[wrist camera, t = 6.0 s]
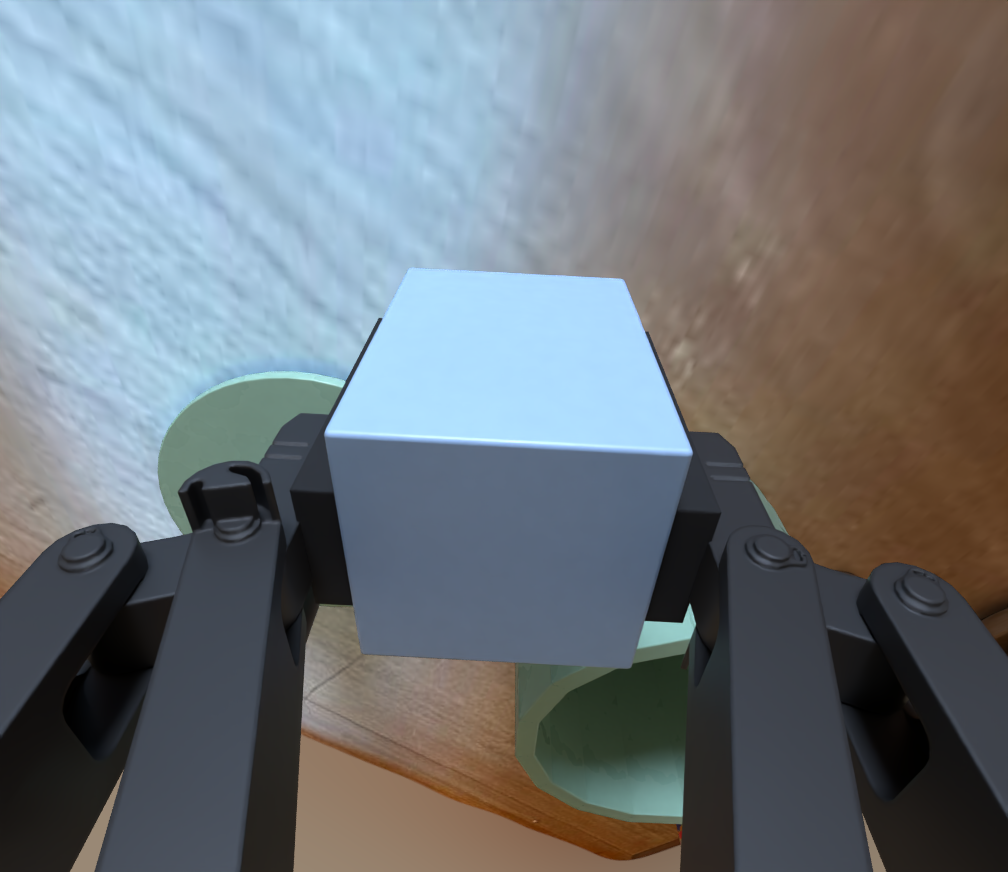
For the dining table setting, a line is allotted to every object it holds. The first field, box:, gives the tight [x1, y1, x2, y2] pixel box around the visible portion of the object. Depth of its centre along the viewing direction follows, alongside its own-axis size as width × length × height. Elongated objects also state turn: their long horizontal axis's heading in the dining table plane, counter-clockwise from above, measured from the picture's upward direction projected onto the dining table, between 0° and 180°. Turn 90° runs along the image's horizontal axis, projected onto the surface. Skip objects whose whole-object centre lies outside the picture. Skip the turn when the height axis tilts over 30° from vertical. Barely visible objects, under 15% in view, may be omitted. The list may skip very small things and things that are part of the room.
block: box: [324, 268, 693, 669], centre depth 12 cm, size 5×5×7 cm
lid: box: [158, 371, 353, 642], centre depth 25 cm, size 15×15×9 cm
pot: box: [515, 480, 788, 824], centre depth 27 cm, size 14×14×10 cm
